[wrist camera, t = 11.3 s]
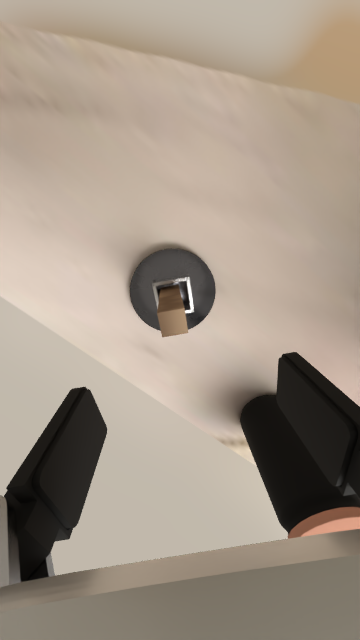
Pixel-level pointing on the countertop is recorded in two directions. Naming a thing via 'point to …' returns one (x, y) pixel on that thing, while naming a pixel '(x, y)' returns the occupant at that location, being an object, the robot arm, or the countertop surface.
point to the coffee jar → (294, 475)
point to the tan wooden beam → (171, 312)
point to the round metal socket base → (172, 271)
